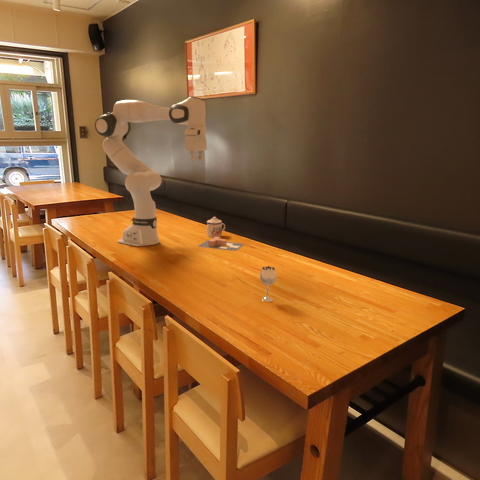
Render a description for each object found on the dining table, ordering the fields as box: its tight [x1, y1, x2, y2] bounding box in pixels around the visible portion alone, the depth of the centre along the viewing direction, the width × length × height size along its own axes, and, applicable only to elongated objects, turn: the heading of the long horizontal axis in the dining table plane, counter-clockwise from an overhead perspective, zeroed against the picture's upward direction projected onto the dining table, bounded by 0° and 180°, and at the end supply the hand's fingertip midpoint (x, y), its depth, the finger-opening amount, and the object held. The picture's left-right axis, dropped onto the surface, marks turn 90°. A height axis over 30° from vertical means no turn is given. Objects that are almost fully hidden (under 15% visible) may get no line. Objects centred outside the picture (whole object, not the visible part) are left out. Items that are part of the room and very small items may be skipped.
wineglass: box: [259, 265, 277, 303], centre depth 143 cm, size 6×6×12 cm
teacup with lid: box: [206, 216, 226, 238], centre depth 234 cm, size 12×9×12 cm
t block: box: [208, 236, 228, 247], centre depth 214 cm, size 8×10×3 cm
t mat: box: [197, 239, 245, 252], centre depth 214 cm, size 22×15×1 cm
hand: (196, 160), depth 197 cm, fingers open, 8 cm apart
